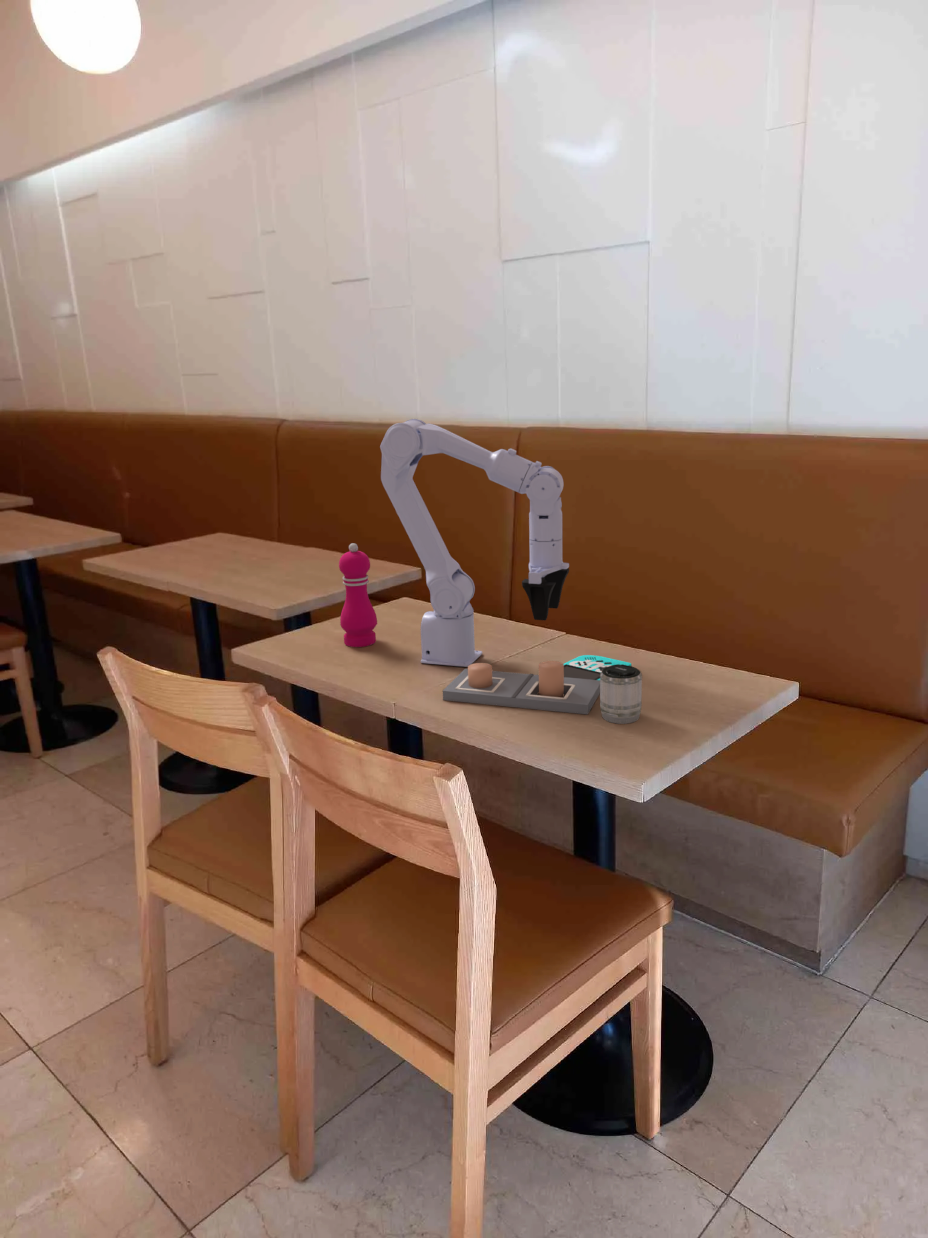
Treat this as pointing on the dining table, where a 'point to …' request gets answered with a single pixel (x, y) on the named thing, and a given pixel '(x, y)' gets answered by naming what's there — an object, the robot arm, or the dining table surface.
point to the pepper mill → (357, 600)
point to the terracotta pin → (551, 679)
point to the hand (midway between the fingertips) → (546, 613)
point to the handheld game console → (589, 666)
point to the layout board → (519, 690)
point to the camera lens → (620, 694)
